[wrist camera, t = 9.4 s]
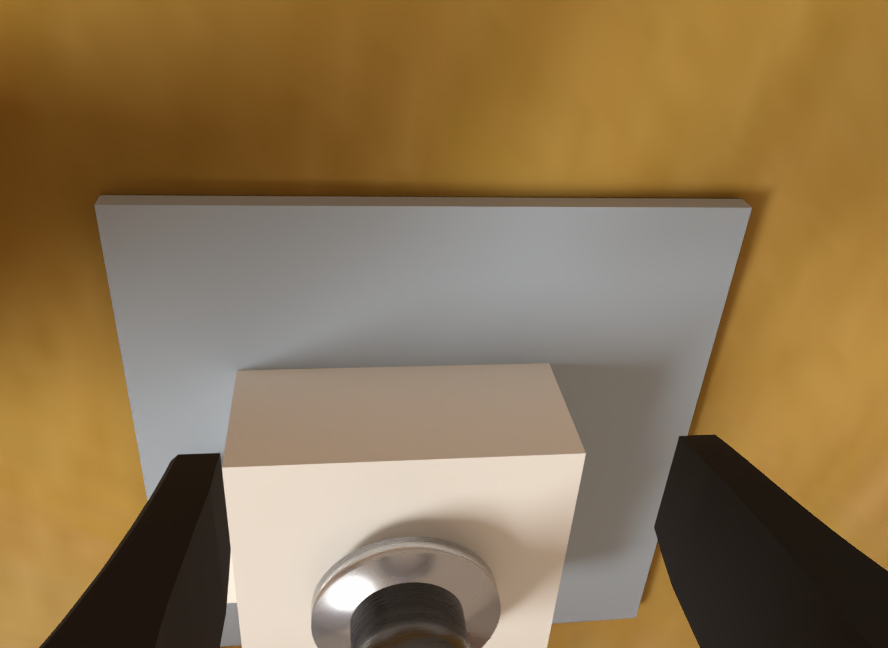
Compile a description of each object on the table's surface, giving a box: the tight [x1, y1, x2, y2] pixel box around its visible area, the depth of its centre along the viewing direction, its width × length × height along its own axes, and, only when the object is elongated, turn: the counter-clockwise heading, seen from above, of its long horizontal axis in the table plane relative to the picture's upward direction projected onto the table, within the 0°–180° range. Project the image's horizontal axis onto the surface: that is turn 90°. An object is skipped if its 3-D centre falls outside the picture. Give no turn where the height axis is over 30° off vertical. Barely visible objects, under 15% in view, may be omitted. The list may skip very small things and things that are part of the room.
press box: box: [222, 363, 586, 648], centre depth 24 cm, size 9×11×4 cm
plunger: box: [311, 537, 501, 648], centre depth 22 cm, size 5×5×8 cm
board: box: [94, 195, 752, 647], centre depth 26 cm, size 17×17×1 cm
